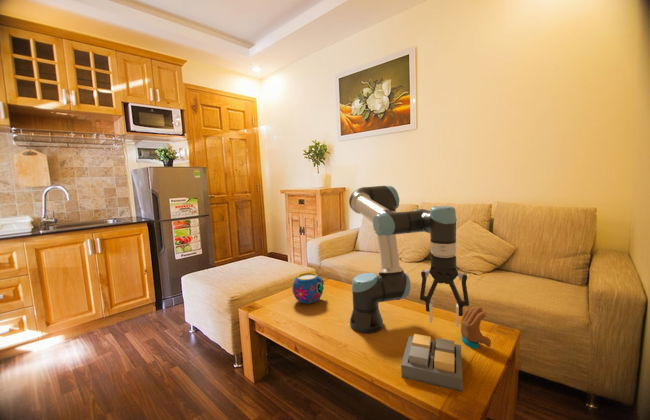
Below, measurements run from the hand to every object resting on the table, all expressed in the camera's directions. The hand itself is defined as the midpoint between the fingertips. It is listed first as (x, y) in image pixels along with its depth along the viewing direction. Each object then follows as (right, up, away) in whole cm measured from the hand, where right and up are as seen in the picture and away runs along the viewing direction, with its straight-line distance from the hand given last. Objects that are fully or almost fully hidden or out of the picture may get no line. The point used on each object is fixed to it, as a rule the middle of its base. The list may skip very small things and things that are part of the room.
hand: (444, 322), depth 90 cm
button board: (-1, -19, +7) cm, 20 cm away
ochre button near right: (+1, -16, +2) cm, 16 cm away
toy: (+20, -16, +19) cm, 32 cm away
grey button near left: (-6, -16, +5) cm, 18 cm away
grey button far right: (+4, -15, +9) cm, 18 cm away
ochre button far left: (-3, -15, +12) cm, 20 cm away
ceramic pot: (-48, -15, +66) cm, 83 cm away
